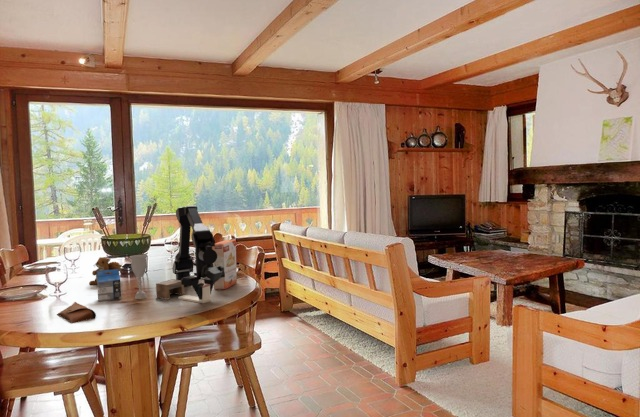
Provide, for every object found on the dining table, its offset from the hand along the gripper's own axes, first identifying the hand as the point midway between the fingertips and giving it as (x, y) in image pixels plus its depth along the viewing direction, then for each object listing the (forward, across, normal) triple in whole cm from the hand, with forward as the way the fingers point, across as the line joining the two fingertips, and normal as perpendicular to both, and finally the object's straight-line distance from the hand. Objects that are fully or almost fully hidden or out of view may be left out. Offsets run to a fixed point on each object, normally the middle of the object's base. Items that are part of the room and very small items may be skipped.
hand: (204, 298), depth 184 cm
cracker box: (+2, +24, +12) cm, 27 cm away
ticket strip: (+2, 0, +6) cm, 6 cm away
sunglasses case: (+2, -37, +30) cm, 47 cm away
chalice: (+2, -8, +31) cm, 32 cm away
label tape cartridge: (+2, -16, +41) cm, 44 cm away
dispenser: (+2, 0, +21) cm, 21 cm away
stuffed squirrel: (+2, +2, +72) cm, 72 cm away
